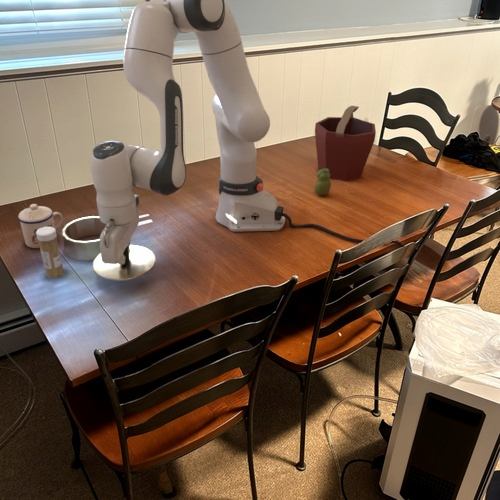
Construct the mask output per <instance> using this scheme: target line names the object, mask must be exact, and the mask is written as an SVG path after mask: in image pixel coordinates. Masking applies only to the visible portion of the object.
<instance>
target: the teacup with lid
mask: <svg viewBox="0 0 500 500" xmlns="http://www.w3.org/2000/svg"><path fill="white" fill-rule="evenodd" d="M55 216H58V222H57V223H56V224H55V220H54V217H55ZM17 219H18V220H19V223H20V227H21V231H22V235H23V239H24V243H25V245H26V246H27V247H29V248H31V249H40V245H39V241H38V239H37V235H36V231H37V230H38V229H40V228H42V227H53V228H55V230H57V229H59V228H60V227H61V226H62V224H63V221H64V216H63V214H62V213H61V212H58V211H54V212H53V210H52V209H51V208H50V207H48V206H44V205H38V204H37V203H32V204H30V205H29V207H26V208H24V209H22V210H21V211H19V214H18V215H17ZM56 238H57V239H58V236H56Z"/></svg>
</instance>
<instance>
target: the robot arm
mask: <svg viewBox="0 0 500 500" xmlns="http://www.w3.org/2000/svg"><path fill="white" fill-rule="evenodd" d="M193 32H194V34H195V36H196V37H197V41H198V46H199V50H200V53H201V56H202V61H203V64H204V67H205V71H206V73H207V77H208V80H209V82H210V84H211V86H212V88H213V90H214V93H215V95H214V97H213V99H212V103H211V109H212V112H213V115H214V120H215V127H216V128H215V129H216V134H217V140H218V146H219V154H220V158H219V159H220V161H219V162H220V167H219V168H220V170H219V171H220V174H219V177H218V194H219V198H218V204H217V209H216V213H215V215H214V218H215V220H216V222H217V223H219V224H220V225H222V226H224V227H226V228H227V229H229V231H231V232H237V233H238V232H241V233H242V232H267V231H268V232H269V231H280V230H281V229H283V228H284V227H285V223H286V220H287V222H288V225H289V227H291V228H292V229H301V228H302V229H303V228H315V229H319V230H321V231H323V232H326V233H328V234H329V235H333V236H335V237H338V238H340V239H343V240H346V241H349V242H353V243H359V244H360V242H362V241H363V240H364V239H359V238H353V237H350V236H347V235H343V234H341V233H338V232H336V231H333V230H331V229H328V228H326V227H324V226H322V225H319V224H315V223H304V224H299V225H297V224H294V223H292V217H290V216H289V215H288V214H286V213H285V211H284V208H285V207H284V206H280V205H279V203H278V200H277V198H276V197H275V195H274V194H272V193H271V192H269V191H268V190H266V189H265V188H264V182H263V177H262V176H260V177H259V176H258V175H257V169H258V167H257V166H258V151H257V147H256V145H255V143H256V142H260V141H261V140H262V139H264V138H265V137H266V136H267V134H268V132H269V130H270V126H271V119H270V116H269V114H268V112H267V111H266V109H265V107H264V104H263V102H262V100H261V96H260V94H259V91H258V89H257V87H256V83H255V81H254V79H253V77H252V74H251V72H250V68H249V65H248V61H247V57H246V54H245V49H244V45H243V41H242V37H241V34H240V30H239V28H238V24H237V22H236V18H235V16H234V14H233V12H232V9H231V7H230V6H229V4H228V3H227V2H226V1H225V0H144V1H142V2H139V3H138V4H137V5H136V6H135V7H134V8H133V10H132V12H131V15H130V19H129V22H128V28H127V32H126V37H125V44H124V51H123V61H122V64H123V65H122V66H123V67H122V68H123V74H124V77H125V79H126V81H127V82H128V84H129V85H130V86H131V87H132V88H133V89H134V90H135V91H136V92H137V93H139V94H141V95H142V96H143V97H145V98H146V99H147V100H149V101H150V102H151V103H152V104H153V105H154V106H155V107H156V109H157V110H158V115H159V125H160V127H159V128H160V130H159V131H160V149H159V150H157V149H152V148H147V147H144V146H139V145H135V144H125V143H124V142H121V141H119V140H107V141H103V142H100V143H99V144H97V145H96V146H94V148H93V149H92V152H91V156H90V157H91V158H90V165H91V166H90V169H91V177H92V183H93V184H92V185H93V187H94V189H95V191H96V198H95V201H96V207H97V214H98V217H99V219H100V221H101V222H102V223H104V224H106V227H105V228H104V230H103V231H102V233H101V235H99V239H100V250H101V259H102V261H103V262H104V263H106V264H117V263H118V264H124V263H125V261H126V257H125V256H124V255H123V253H124V250H125V248H126V247H128V251H129V254H130V245H131V241H132V237H133V235H134V234H135V231H136V230H137V228H138V226H139V224H140V223H139V222H140V212H139V211H140V206H139V204H140V195H139V194H135V193H134V191H133V190H134V189H135V188H141V189H144V190H147V191H152V192H153V193H157V194H159V195H161V196H166V197H167V196H170V195H172V194H175V193H176V192H177V191H179V190H180V189H181V188H182V187H183V186H184V184H185V182H186V177H187V167H186V161H185V153H184V104H183V93H182V88H181V86H180V85H179V84H178V82H177V81H176V78H175V76H174V69H173V62H174V61H173V60H174V52H175V42H176V41H175V40H176V38H177V36H178V34H188V33H193ZM389 244H395V245H398V246H399V247H400V248H403V247H404V248H405V245H404V244H403V243H402V242H401V241H399V240H396V241H392V242H390V243H389Z"/></svg>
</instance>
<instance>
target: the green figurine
mask: <svg viewBox="0 0 500 500" xmlns="http://www.w3.org/2000/svg"><path fill="white" fill-rule="evenodd" d="M316 177H317V182H315V185H314V192H315V193H316V194H317V195H318V196H320V197H324V196H326V195H329V193H330V191H331V188H332V182H331V178H330V173H329V169H327V168H323V169H321V170H318V171H317V174H316Z"/></svg>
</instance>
